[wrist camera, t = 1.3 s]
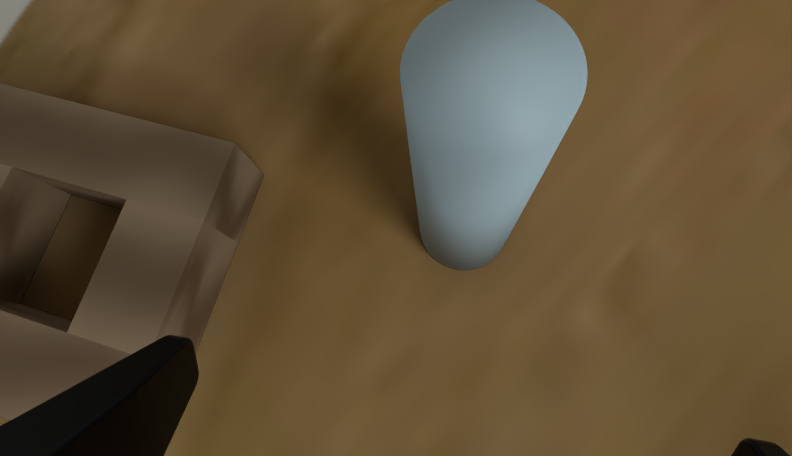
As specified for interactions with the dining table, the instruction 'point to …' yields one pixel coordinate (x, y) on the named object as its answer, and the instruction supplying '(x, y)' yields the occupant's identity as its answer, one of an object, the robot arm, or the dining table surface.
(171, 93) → the dining table surface
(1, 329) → the socket block
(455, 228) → the peg
